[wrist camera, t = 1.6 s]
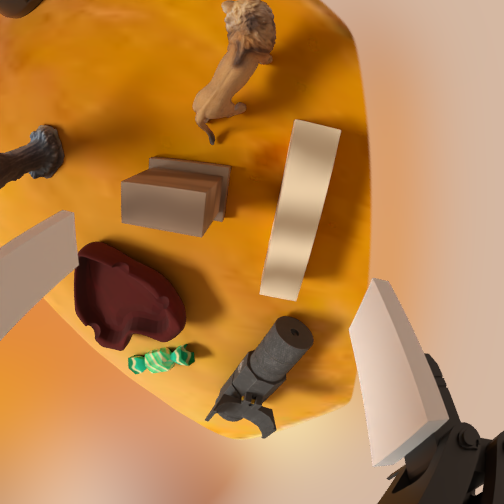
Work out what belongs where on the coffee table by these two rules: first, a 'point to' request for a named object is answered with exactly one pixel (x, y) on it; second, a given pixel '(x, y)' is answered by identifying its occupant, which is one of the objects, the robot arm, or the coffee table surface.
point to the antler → (33, 157)
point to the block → (299, 207)
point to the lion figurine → (237, 60)
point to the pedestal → (176, 196)
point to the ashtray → (124, 298)
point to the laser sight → (263, 375)
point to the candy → (161, 360)
